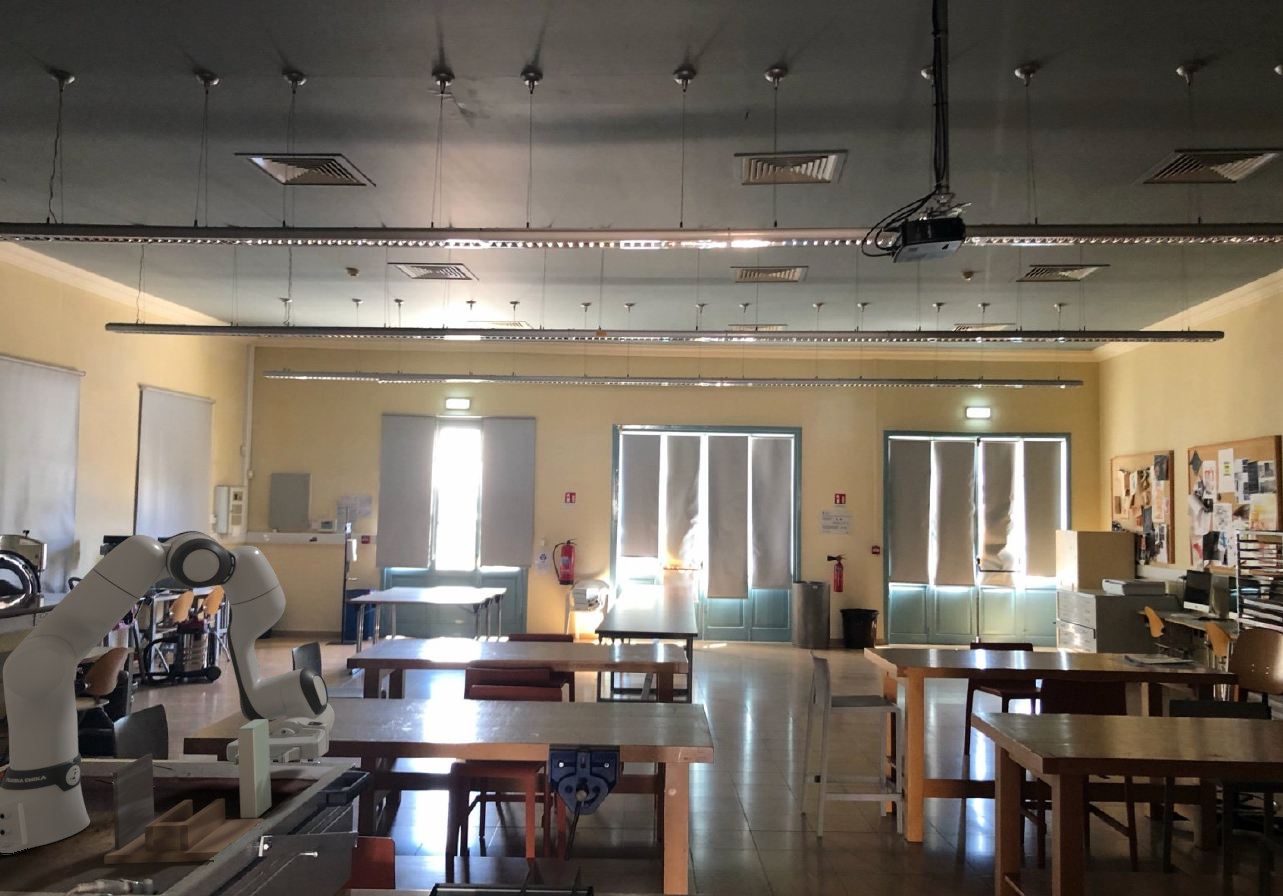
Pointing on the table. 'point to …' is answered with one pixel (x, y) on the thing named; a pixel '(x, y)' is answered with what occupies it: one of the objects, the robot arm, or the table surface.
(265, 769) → the pale green flat block
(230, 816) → the table surface
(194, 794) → the table surface
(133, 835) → the stand
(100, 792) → the table surface
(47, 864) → the table surface
